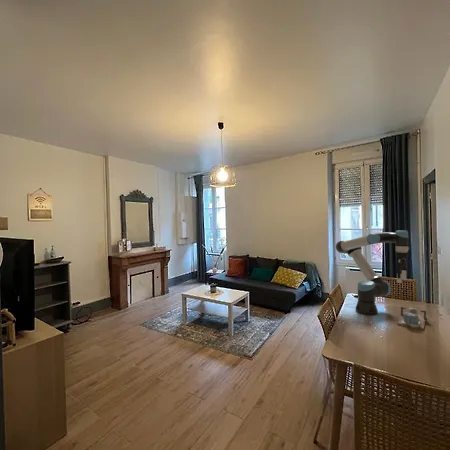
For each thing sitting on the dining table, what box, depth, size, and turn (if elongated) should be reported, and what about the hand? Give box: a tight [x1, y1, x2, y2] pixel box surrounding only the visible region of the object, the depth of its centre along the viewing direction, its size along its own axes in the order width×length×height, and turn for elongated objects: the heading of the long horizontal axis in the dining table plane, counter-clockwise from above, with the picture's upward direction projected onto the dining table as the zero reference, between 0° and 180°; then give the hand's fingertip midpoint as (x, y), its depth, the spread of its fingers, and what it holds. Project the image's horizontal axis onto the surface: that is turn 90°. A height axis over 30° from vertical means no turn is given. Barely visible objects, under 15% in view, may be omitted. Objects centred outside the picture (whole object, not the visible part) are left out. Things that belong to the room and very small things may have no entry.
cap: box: [404, 311, 419, 326], centre depth 170 cm, size 11×8×6 cm
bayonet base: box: [397, 306, 427, 331], centre depth 176 cm, size 14×26×7 cm, turn 138°
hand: (401, 280), depth 182 cm, fingers open, 13 cm apart
